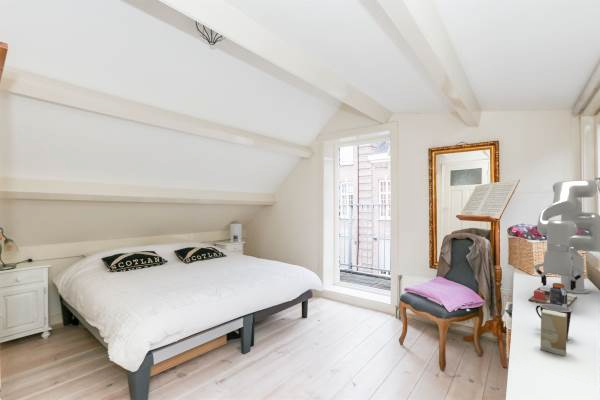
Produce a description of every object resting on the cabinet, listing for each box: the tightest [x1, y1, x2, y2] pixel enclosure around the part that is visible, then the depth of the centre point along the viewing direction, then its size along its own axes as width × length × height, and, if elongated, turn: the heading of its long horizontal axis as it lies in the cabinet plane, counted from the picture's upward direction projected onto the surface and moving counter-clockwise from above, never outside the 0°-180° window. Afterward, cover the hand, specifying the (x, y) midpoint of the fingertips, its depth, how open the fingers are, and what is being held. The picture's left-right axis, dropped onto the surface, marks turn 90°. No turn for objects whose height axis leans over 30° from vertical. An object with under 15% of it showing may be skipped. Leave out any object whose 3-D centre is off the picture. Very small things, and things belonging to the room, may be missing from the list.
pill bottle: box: [550, 282, 568, 307], centre depth 139 cm, size 6×6×11 cm
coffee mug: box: [535, 303, 572, 341], centre depth 112 cm, size 12×9×10 cm
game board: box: [528, 286, 578, 309], centre depth 153 cm, size 24×14×3 cm, turn 131°
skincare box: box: [539, 309, 568, 357], centre depth 99 cm, size 6×4×12 cm
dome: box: [540, 284, 551, 291], centre depth 160 cm, size 5×5×4 cm
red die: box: [533, 289, 545, 300], centre depth 151 cm, size 4×4×4 cm
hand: (558, 287), depth 138 cm, fingers open, 9 cm apart
